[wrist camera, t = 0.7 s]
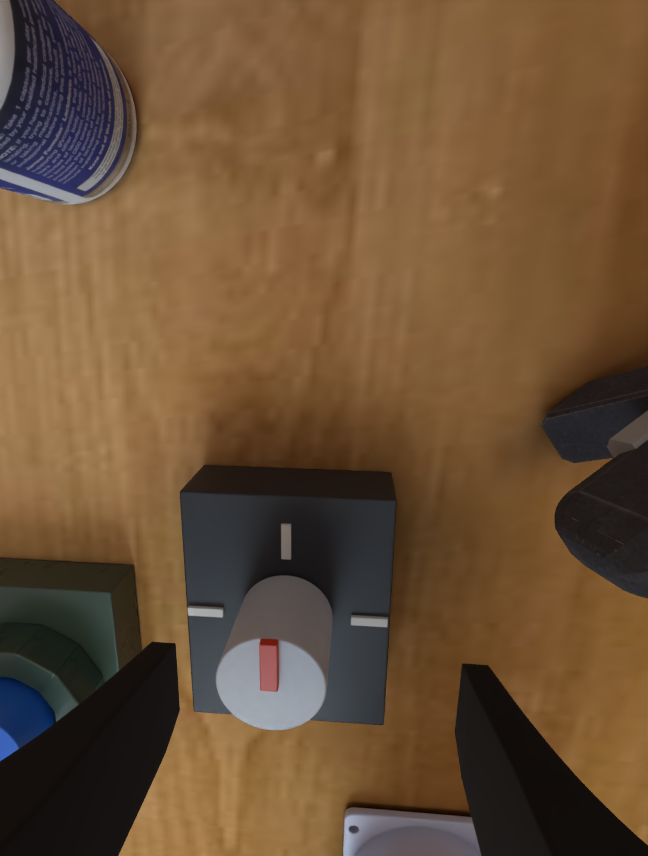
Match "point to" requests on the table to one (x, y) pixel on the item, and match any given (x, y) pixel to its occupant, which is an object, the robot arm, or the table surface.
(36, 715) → the power button
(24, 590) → the switch box
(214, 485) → the dimmer console
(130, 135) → the pill bottle
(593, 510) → the gun
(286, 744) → the table surface
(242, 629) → the dimmer knob
